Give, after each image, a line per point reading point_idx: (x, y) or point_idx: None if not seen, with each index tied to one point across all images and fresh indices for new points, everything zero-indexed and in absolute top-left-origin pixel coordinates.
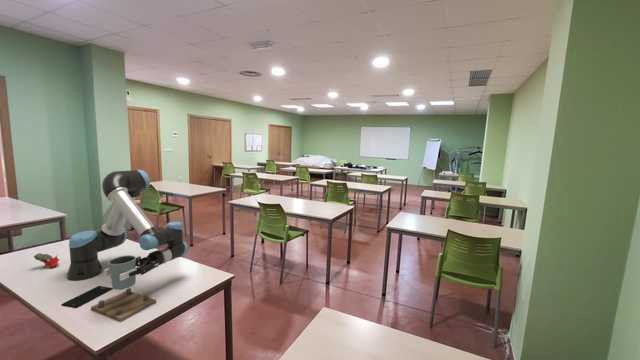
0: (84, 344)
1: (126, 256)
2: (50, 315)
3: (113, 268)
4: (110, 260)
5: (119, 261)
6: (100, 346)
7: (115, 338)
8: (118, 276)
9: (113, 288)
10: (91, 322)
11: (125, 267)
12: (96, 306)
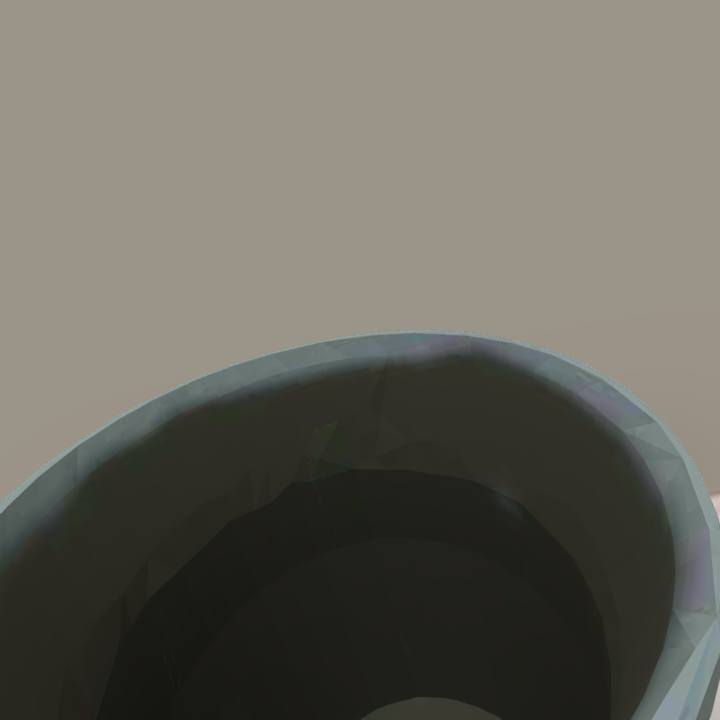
0: None
1: (632, 715)
2: (717, 503)
3: (262, 432)
4: (510, 350)
5: (625, 585)
6: None
7: None
8: (257, 591)
9: (421, 693)
10: None
11: (89, 561)
12: None
